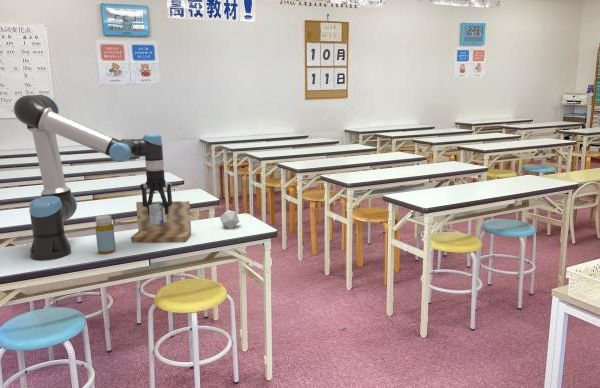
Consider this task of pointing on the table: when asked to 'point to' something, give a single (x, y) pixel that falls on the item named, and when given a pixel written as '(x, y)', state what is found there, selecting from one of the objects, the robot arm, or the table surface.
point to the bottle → (105, 234)
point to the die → (229, 219)
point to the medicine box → (156, 213)
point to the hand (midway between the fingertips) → (158, 221)
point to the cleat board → (164, 224)
